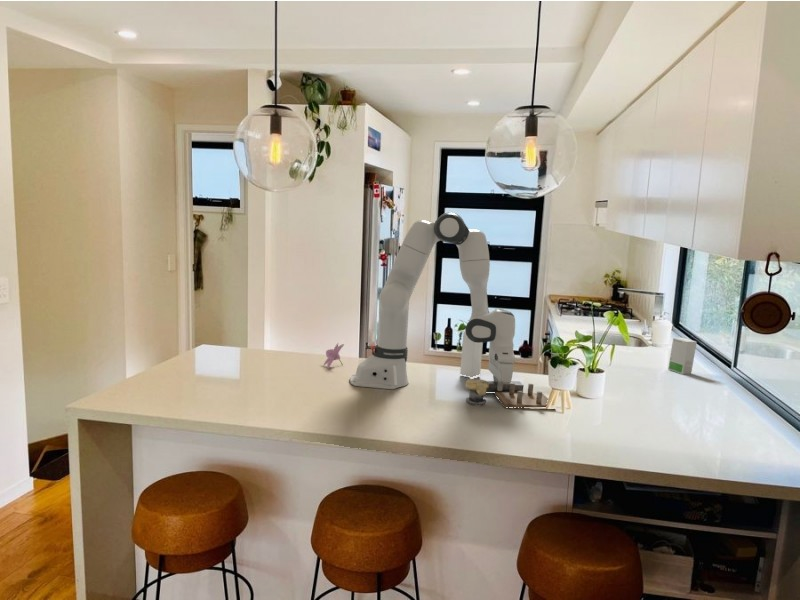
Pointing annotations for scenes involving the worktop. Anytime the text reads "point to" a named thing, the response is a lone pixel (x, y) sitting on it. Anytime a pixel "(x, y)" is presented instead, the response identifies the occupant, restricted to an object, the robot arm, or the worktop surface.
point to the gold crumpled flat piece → (477, 385)
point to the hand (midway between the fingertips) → (497, 388)
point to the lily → (333, 355)
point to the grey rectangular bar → (505, 386)
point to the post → (475, 398)
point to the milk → (471, 357)
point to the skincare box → (682, 355)
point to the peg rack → (522, 398)
